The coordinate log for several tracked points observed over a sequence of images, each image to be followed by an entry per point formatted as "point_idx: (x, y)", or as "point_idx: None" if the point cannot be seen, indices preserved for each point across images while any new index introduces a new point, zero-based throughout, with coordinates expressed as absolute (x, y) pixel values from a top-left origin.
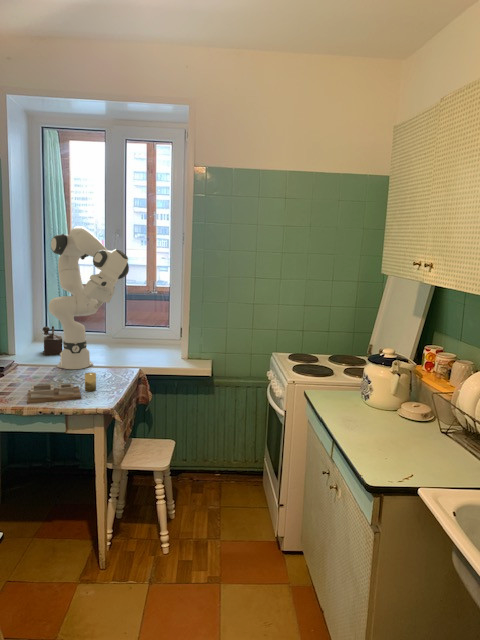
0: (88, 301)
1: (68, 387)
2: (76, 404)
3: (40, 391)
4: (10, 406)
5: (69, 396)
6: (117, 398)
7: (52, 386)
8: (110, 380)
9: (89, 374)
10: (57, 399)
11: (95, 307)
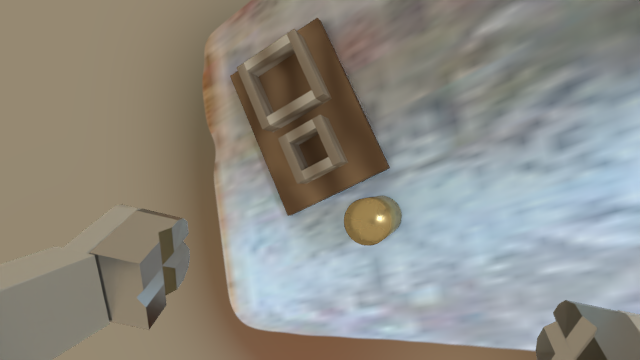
0: (40, 353)
1: (295, 165)
2: (249, 216)
3: (247, 93)
4: (212, 46)
5: (282, 179)
6: (314, 329)
7: (296, 106)
8: (528, 259)
9: (357, 221)
10: (262, 150)
11: (566, 340)
